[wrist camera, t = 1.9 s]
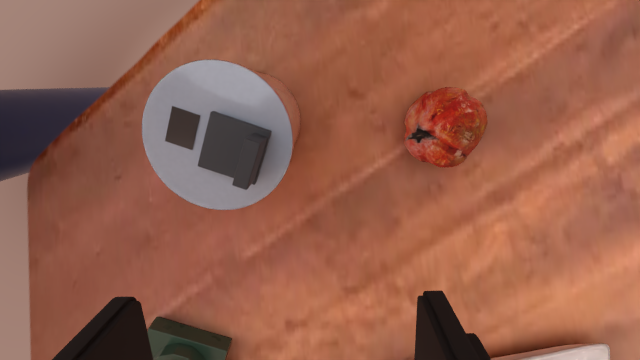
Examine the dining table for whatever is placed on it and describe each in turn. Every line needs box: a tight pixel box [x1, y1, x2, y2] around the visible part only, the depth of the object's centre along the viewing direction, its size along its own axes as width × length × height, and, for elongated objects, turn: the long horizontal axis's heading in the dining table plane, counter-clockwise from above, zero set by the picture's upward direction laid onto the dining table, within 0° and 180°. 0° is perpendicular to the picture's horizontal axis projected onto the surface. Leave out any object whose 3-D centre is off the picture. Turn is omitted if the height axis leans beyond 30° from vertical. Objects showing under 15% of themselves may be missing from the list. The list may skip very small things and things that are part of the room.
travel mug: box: [142, 60, 300, 210], centre depth 29 cm, size 11×11×12 cm
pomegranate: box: [404, 87, 487, 167], centre depth 32 cm, size 7×7×10 cm
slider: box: [198, 111, 272, 190], centre depth 22 cm, size 4×4×3 cm
